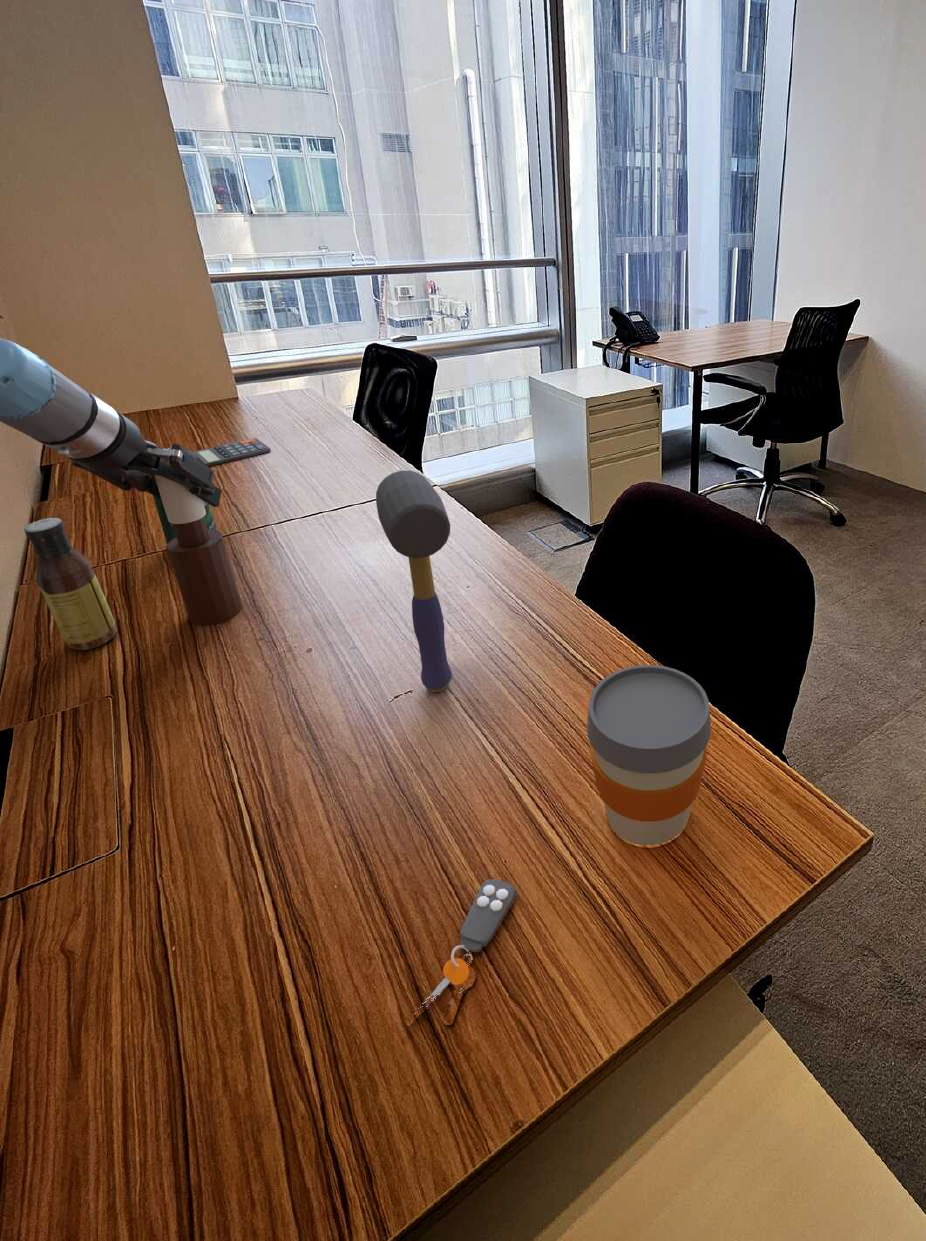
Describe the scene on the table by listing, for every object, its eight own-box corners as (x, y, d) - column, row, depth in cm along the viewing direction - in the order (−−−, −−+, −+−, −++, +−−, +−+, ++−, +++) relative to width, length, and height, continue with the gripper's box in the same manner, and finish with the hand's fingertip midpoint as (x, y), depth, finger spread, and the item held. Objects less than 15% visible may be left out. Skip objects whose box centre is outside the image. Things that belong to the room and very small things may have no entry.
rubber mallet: (476, 706, 88) (451, 497, 76) (418, 724, 85) (381, 510, 73) (455, 652, 98) (429, 461, 86) (402, 667, 95) (367, 471, 83)
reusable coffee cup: (724, 846, 69) (732, 734, 63) (605, 878, 66) (602, 764, 60) (682, 756, 80) (686, 654, 74) (579, 780, 77) (574, 675, 71)
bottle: (180, 626, 104) (147, 528, 97) (204, 600, 111) (175, 507, 104) (228, 624, 105) (199, 527, 98) (250, 599, 111) (224, 505, 104)
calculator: (270, 448, 173) (204, 463, 163) (271, 451, 173) (205, 466, 164) (255, 437, 181) (191, 451, 171) (256, 440, 181) (192, 454, 171)
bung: (166, 539, 99) (145, 473, 95) (184, 524, 104) (164, 461, 100) (200, 538, 100) (180, 473, 95) (216, 524, 104) (198, 460, 100)
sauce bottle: (89, 627, 104) (43, 511, 96) (129, 628, 104) (86, 512, 96) (54, 654, 98) (1, 532, 90) (96, 655, 98) (47, 533, 90)
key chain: (484, 883, 66) (483, 873, 65) (519, 894, 65) (518, 883, 64) (405, 1028, 54) (403, 1017, 54) (446, 1043, 53) (444, 1032, 53)
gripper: (3, 462, 80) (133, 523, 102) (160, 459, 81) (255, 520, 103) (21, 406, 83) (143, 477, 105) (172, 403, 84) (262, 474, 106)
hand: (198, 498), depth 104 cm, fingers closed on bung, 5 cm apart
